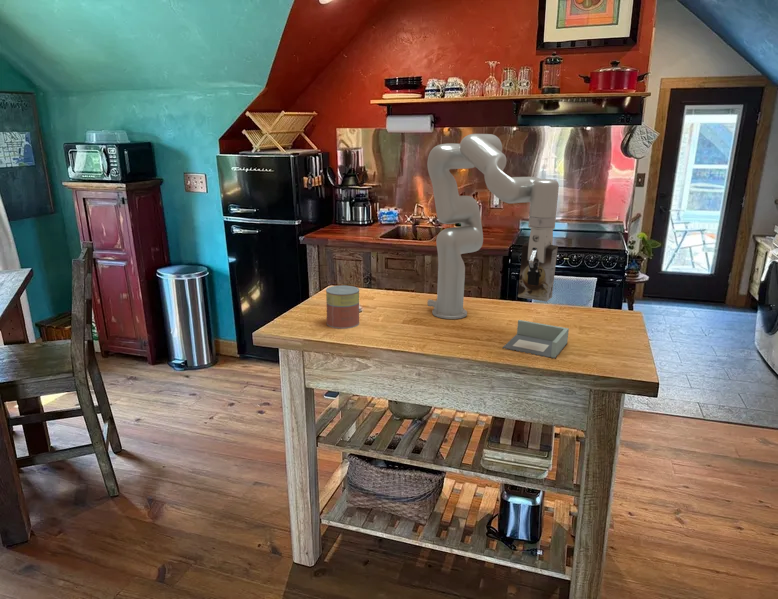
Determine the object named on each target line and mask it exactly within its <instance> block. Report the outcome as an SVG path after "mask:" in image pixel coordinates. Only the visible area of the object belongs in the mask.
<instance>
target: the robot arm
mask: <svg viewBox="0 0 778 599" xmlns="http://www.w3.org/2000/svg"><path fill="white" fill-rule="evenodd" d="M506 165H507V157H506V154H505V153H504V152H503V143H502V141H501V139H500V138H499V137H498V136H497V135H495V134H492V133H471V134H467V135H466V136H464V137H463V138H462V139H461V141H460V143H451V142H450V143H449V142H447V143H441V144H437V145H436V146H433V148H432V149H431V150H430V151H429V154H428V156H427V164H426V166H427V171H428V176H429V178H430V181H431V184H432V186H431V187H432V190H433V191H432V192H433V197H434V199H433V200H434V204H435V205H434V206H435V213H436V217H437V220H438V222H440V224H444V225H451V224H452V225H453V224H460V226H455V227H447V228H445V229H442V230H441V231H440V232H438V234H437V236H436V239H435V240H436V241H435V242H436V243H435V244H436V250H437V261H438V264H437V265H438V266H437V292H436V293H437V295H436V299H435V300H434V299H431V298H429V299H428V300H427V306H428V307H433V309H432V310H431V311H432V315H433V316H434V317H436V318H438V319H439V318H440V319H446V320H457V319H458V320H459V319H464V318H465V317H467V316H468V310H466V309H465V308H464V297H465V296H464V295H465V277H466V265H465V262H464V260H463V258H462V254H468V253H469V254H470V253H474V252H477V251H480V249H481V248H482V247H483V244H484V243H483V242H484V232H483V225H482V217H481V213H480V206H479V205H478V204H479V203H478V202H477V200H476V199H475V198H474V197H473V196H471V195H460V193H459V188H458V183H457V180H456V178H455V176H454V175H453V173H451V172H450V170H463V169H465V170H469V169H473V168H476V169H478V171H479V172H481V173H482V174H483V177H484V182H485V185H486V188H487V189H488V190H489V192H490V193H491V194H493V195H494V196H495V197H496V198H497V199H498V200H500V201H501V202H503V203H506V204H509V205H510V204H521V203H522V204H523V203H525V204H526V203H529V214H528V226H527V227H528V228H529V229H530V231H529V232H530V233H529V238H528V242H529V246H528V261H529V270H528V282H527V283H528V284H529V285H536V286H538V285H539V275H540V272H539V267H540V262H541V263H545V257H546V248H547V247H548V246H551V245H554V244H553V240H554V239H553V238H554V230H555V229H556V219H557V217H556V216H557V209H558V198H559V189H560V185H559V181H557V180H556V179H548V178H540V177H536V176H512V177H511V176H510V175H508V174H506V173H505V171H504V169H505V168H506ZM529 257H530V259H529ZM535 259H538V260H539V261H535ZM536 264H537V267H536Z"/></svg>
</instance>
